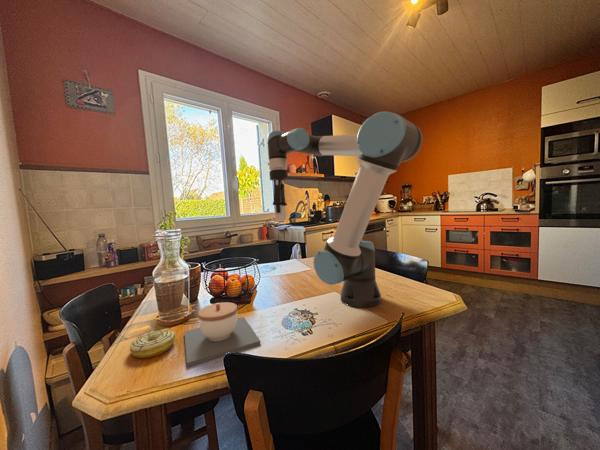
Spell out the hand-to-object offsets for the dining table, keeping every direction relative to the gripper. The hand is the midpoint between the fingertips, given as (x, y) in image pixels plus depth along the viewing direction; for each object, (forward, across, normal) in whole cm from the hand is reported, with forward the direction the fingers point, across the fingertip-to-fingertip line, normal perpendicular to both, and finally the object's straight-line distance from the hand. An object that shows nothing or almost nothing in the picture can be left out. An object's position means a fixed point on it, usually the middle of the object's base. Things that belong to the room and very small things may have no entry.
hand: (281, 220), depth 103 cm
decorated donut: (+32, +40, -32) cm, 60 cm away
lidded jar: (+31, +36, -15) cm, 50 cm away
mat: (+32, +36, -15) cm, 50 cm away
